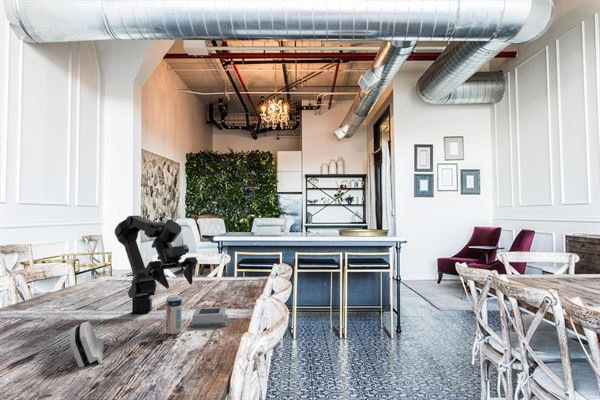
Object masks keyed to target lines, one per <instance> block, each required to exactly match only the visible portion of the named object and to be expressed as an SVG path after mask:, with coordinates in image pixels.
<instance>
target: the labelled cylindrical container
mask: <svg viewBox="0 0 600 400" xmlns="http://www.w3.org/2000/svg"><path fill="white" fill-rule="evenodd" d="M165 301H166V305H165V306H166V307H165V311H166V312H165V313H166V315H165V317H166V319H165V323H166V324H165V332H166V333H167V334H168V335H178V334H180V333H181V332H182V316H183V315H182V310H183V309H182V307H183V306H182V303H183V302H182V297H181V295H180V294H171V295H168V296H167V297H166V300H165Z"/></svg>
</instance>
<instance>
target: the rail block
mask: <svg viewBox="0 0 600 400" xmlns="http://www.w3.org/2000/svg"><path fill="white" fill-rule="evenodd" d="M227 320H228V314H226V306H221V307H220V306H219V307H217V306H216V307H215V306H214V307H213V306H212V307H196V309H195V310H194V312H193V314H192V321H191V323H190V325H189V329H200V328H201V329H202V328H203V329H204V328H221V327H224V328H225V327H227V323H228V321H227Z"/></svg>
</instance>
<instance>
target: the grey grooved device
mask: <svg viewBox="0 0 600 400" xmlns="http://www.w3.org/2000/svg"><path fill="white" fill-rule="evenodd" d="M69 344H70V347H71V349H72V350H71V351H72V352H73V355H74V357H75V360H76V363H77V365H78V368H84V367H85V365H86V364H87V363H89V364H92V363H93V362H95V361H97V362H98V365H102V364H103V363H102V362H103V355H104V347H105V344H104V341H103V339H102V338H97V335H96V333H95V331H94V327H93V326H92V325H91V322H90V321H86V322H82V323H81V324H77V325H75V326H74V327H72V328H71V330H70V333H69Z"/></svg>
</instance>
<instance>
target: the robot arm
mask: <svg viewBox="0 0 600 400" xmlns="http://www.w3.org/2000/svg"><path fill="white" fill-rule="evenodd" d="M182 230H183V229H182V226H181V225H180V224H179V223H177V222H176V221H174V220H173V219H167V220H166V221H165V222H164V221H163V222H162V221H152V220H149V219H148V218H147V219H146V218H144V217H142V216H140V215H128V216H126V218H125V219H124V220H122V221H121V222H118V224H117V226H116V227H115V228H114V235H115V237H116V239H117V241H118V242H119V243H120V244H121V245H122V246H124V249H125V252H126V256H127V259H128V262H129V265H130V269H131V271H132V274H133V277H132V279H131V280H132V281H131V286H130V288H129V290H128V292H127V293H128V295H127V296H128V298H129V299H132V300H131V307H132V308H131V310H132V311H131V312H130V315H136V314H137V315H139V314H141V315H143V314H144V315H145V314H148V313H150V312H151V311H152V310H153V299H152V297H151V296H155V294H156V288H157V282H158V283H159V284H160V285H162V286H163V287H164V288H165V289H167V290H169V288H170V285H169V282H168V279H167V277H166V275H165V271H164V270H171V269H180V270H181V271H182V274H183V277H184V278H185V279H186V281H187V282H188V284H189V285H190V286H191V285H192V284H193V270H194V268H195V266H197V264H198V263H199V261H198V259H197V257H196V256H191V257H190V256H189V257H185V258H184V260H183V261H180V260H181V259H182V257H183V256H184V255H186V254H188V253H189V251H190V249H189V246H188V245H187V243H185V244H181V245H179V246H178V245H176V246H175V245H174V246H173V245H172V243H174V242H175V241H176V239H177V238H178V237H179V235H180V234H181V232H182ZM140 231H143V232H144V233H143V234H144V235H145V236H146V237H147V238H148V239H153V238H155V239H154V240H153V242H152V244H151V248H152V249H155V251H156V253H157V255H158V256H157V260H153V261H149V262H148V264H147V265H146V266H145V262H144V260H143V257H142V254H141V252H140V249H139V245H138V242H137V240H138V236H139V233H140Z"/></svg>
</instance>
